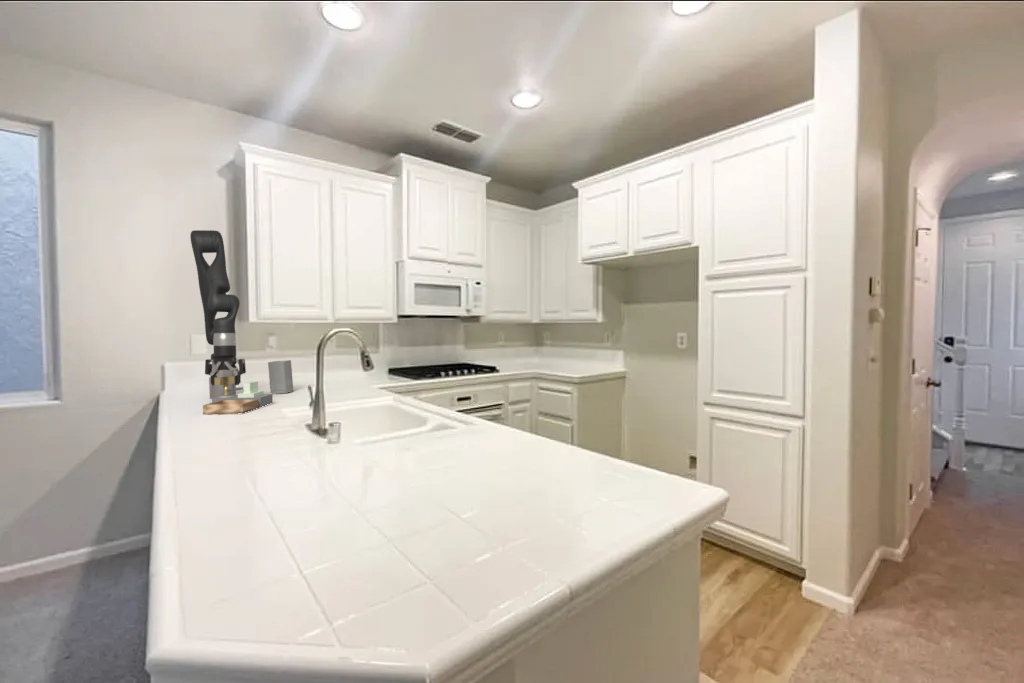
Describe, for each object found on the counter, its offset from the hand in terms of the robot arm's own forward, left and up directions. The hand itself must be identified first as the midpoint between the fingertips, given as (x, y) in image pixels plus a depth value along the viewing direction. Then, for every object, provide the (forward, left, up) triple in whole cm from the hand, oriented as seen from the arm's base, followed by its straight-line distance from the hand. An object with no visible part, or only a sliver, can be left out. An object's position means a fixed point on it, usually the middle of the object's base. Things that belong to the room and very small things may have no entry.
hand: (225, 385), depth 174 cm
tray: (+8, -12, -9) cm, 17 cm away
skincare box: (+4, +38, -9) cm, 40 cm away
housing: (+6, 0, -9) cm, 11 cm away
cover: (+10, 0, -5) cm, 11 cm away
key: (0, +2, -4) cm, 5 cm away
